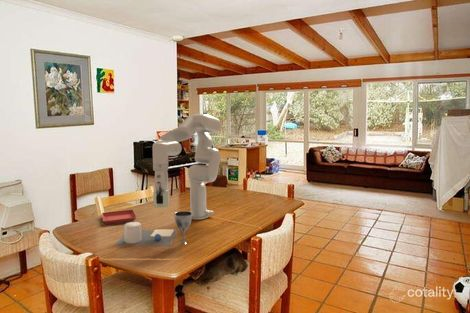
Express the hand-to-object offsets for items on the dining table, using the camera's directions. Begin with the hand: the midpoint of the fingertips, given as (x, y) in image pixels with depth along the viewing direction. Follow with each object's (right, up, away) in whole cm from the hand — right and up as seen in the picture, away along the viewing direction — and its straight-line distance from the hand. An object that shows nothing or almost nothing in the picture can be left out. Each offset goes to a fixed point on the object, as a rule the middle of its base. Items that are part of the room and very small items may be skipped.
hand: (161, 201), depth 167 cm
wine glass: (+13, -19, -11) cm, 25 cm away
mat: (-6, -18, -4) cm, 19 cm away
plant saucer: (-31, -15, +26) cm, 43 cm away
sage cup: (0, -2, 0) cm, 2 cm away
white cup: (-12, -18, -8) cm, 23 cm away
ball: (0, -16, -8) cm, 18 cm away
